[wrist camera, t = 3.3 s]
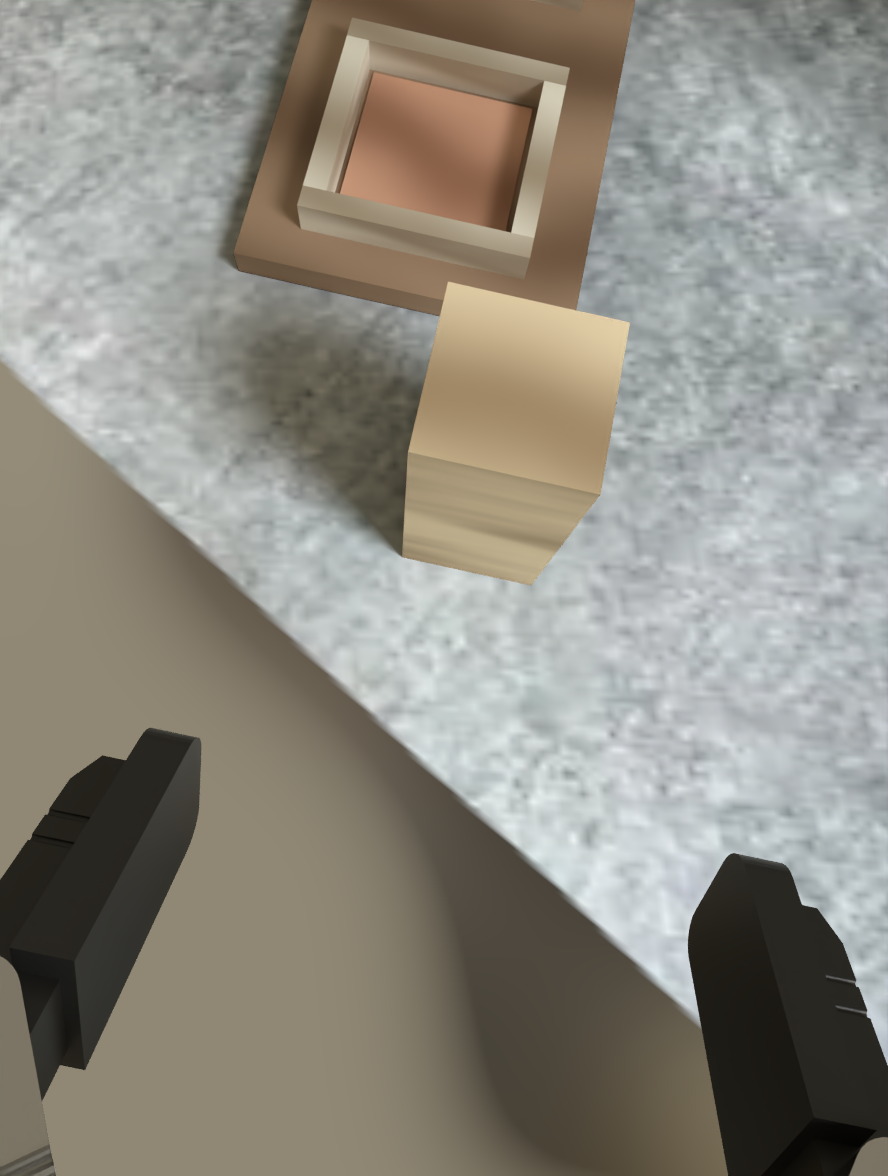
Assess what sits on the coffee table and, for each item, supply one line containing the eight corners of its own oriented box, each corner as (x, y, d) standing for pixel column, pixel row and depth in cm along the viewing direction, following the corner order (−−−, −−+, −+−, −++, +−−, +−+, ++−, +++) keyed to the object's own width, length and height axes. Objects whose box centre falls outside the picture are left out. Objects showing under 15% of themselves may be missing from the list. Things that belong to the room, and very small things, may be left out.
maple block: (429, 437, 27) (448, 281, 19) (553, 464, 28) (629, 322, 19) (402, 557, 26) (408, 451, 18) (531, 585, 27) (600, 494, 18)
